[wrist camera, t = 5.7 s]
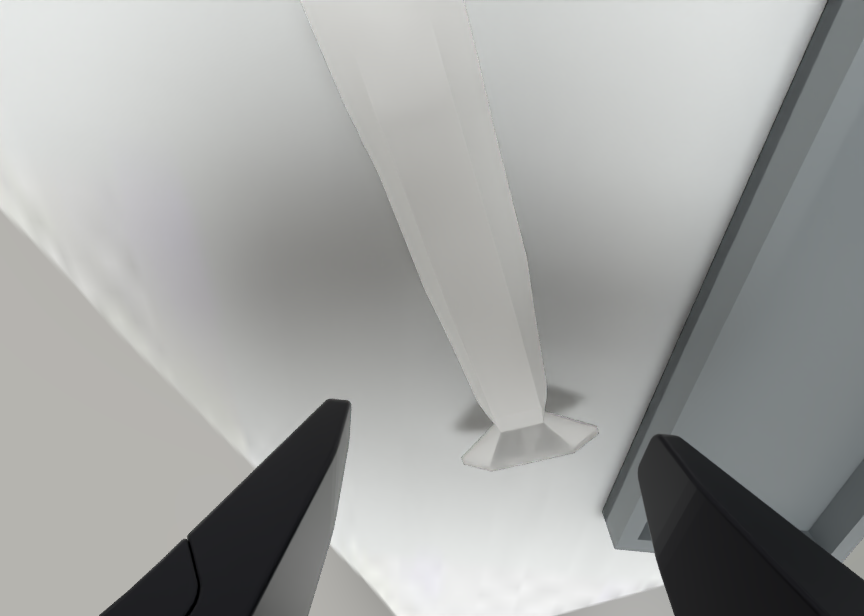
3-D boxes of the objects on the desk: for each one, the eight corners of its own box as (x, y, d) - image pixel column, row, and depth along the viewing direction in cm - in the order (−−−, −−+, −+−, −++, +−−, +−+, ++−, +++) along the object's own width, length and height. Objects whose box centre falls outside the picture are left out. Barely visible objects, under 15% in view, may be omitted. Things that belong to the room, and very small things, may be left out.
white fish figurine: (468, -106, 13) (479, -155, 10) (586, 405, 21) (615, 478, 18) (279, -26, 14) (226, -45, 10) (463, 434, 22) (468, 509, 19)
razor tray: (1206, 12, 14) (1315, 10, 12) (807, 532, 25) (835, 570, 23) (848, -46, 13) (910, -57, 12) (602, 511, 24) (614, 549, 23)
